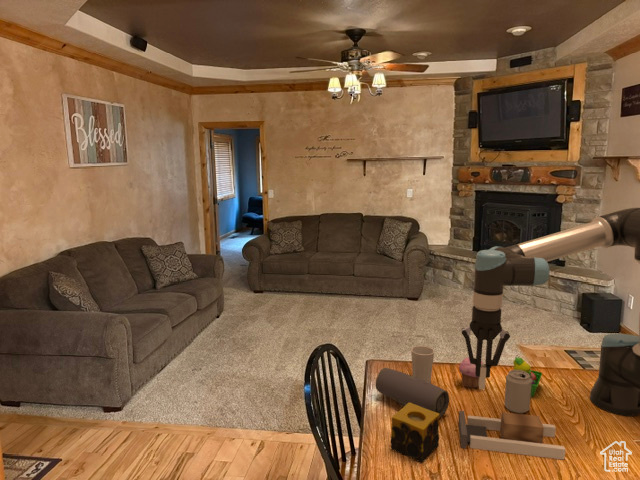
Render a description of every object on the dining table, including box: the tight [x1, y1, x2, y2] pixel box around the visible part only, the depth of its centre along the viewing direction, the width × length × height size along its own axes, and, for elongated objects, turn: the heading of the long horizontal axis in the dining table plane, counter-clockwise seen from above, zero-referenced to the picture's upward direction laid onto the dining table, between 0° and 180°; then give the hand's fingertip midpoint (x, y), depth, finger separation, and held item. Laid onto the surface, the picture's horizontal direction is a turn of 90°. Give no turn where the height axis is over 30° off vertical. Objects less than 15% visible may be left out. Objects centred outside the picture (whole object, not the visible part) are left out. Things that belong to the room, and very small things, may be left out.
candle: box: [390, 403, 440, 463], centre depth 133 cm, size 10×10×10 cm
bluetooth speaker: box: [375, 367, 450, 418], centre depth 154 cm, size 23×9×10 cm, turn 44°
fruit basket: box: [512, 356, 543, 398], centre depth 165 cm, size 11×9×11 cm
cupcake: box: [458, 356, 485, 389], centre depth 168 cm, size 9×9×10 cm
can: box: [503, 369, 532, 414], centre depth 152 cm, size 8×8×12 cm
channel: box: [466, 415, 566, 460], centre depth 136 cm, size 24×12×3 cm, turn 77°
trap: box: [458, 410, 488, 449], centre depth 138 cm, size 8×13×4 cm, turn 167°
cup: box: [410, 345, 435, 384], centre depth 170 cm, size 8×8×12 cm
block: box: [499, 411, 544, 444], centre depth 135 cm, size 10×6×7 cm, turn 77°
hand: (481, 387), depth 135 cm, fingers closed
